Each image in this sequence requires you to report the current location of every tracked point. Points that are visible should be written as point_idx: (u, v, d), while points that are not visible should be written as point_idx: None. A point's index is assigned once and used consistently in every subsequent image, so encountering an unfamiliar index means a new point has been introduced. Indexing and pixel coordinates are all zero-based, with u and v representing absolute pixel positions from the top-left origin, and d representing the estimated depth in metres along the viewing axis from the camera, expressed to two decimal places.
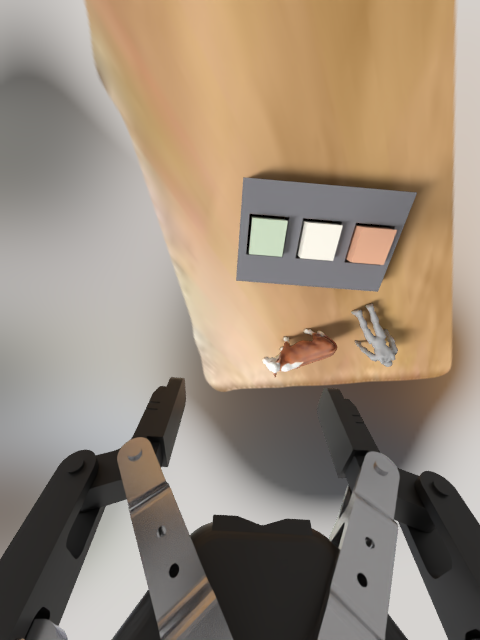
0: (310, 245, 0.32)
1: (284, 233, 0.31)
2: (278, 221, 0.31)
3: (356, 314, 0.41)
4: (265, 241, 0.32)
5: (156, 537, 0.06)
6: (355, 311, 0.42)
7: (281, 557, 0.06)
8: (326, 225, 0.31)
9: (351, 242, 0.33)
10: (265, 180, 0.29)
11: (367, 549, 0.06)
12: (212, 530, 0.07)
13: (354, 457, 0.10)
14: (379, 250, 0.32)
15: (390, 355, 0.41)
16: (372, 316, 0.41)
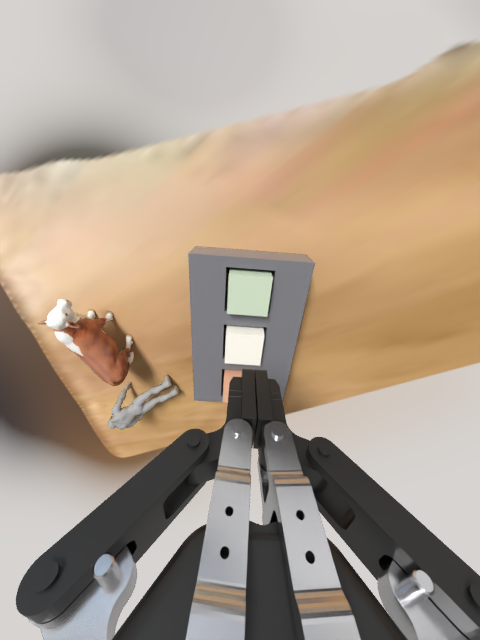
0: (240, 341, 0.29)
1: (253, 314, 0.27)
2: (267, 307, 0.26)
3: (165, 382, 0.37)
4: (245, 293, 0.25)
5: (224, 512, 0.07)
6: (168, 380, 0.38)
7: (281, 557, 0.06)
8: (260, 352, 0.29)
9: None
10: (308, 287, 0.26)
11: (301, 521, 0.07)
12: None
13: (261, 427, 0.11)
14: None
15: (123, 425, 0.37)
16: (165, 396, 0.38)
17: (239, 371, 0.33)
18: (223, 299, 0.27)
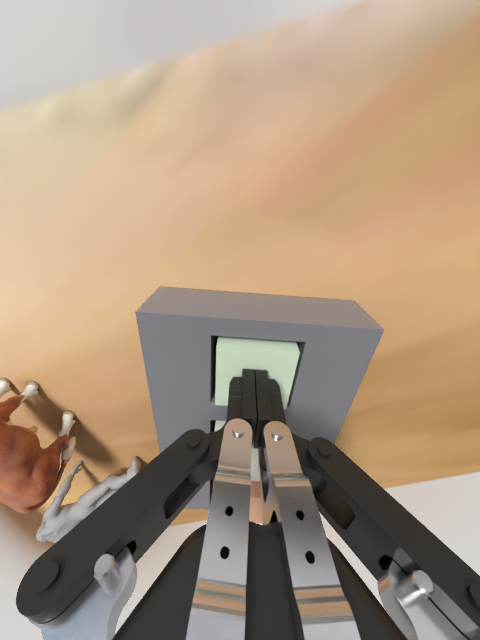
0: None
1: None
2: (286, 396, 0.15)
3: (132, 473, 0.25)
4: None
5: (224, 512, 0.07)
6: (137, 467, 0.25)
7: (281, 557, 0.06)
8: None
9: None
10: (364, 368, 0.14)
11: (301, 521, 0.07)
12: None
13: (261, 427, 0.11)
14: None
15: (61, 537, 0.24)
16: None
17: None
18: (207, 385, 0.15)
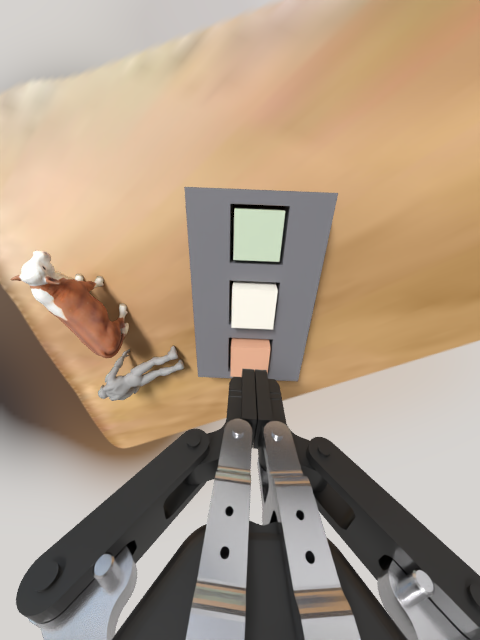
0: (249, 298, 0.24)
1: (263, 259, 0.23)
2: (279, 249, 0.23)
3: (172, 353, 0.33)
4: (254, 232, 0.22)
5: (224, 512, 0.07)
6: (175, 351, 0.33)
7: (281, 557, 0.06)
8: (273, 312, 0.25)
9: (251, 339, 0.29)
10: (329, 227, 0.22)
11: (300, 521, 0.07)
12: None
13: (261, 427, 0.11)
14: None
15: (117, 395, 0.32)
16: (169, 369, 0.33)
17: (248, 340, 0.29)
18: (228, 247, 0.23)
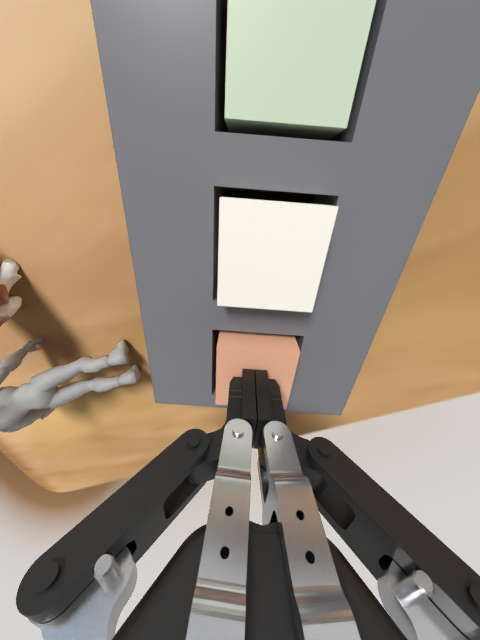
0: (263, 228, 0.10)
1: (306, 118, 0.09)
2: (352, 83, 0.08)
3: (117, 354, 0.18)
4: (287, 15, 0.07)
5: (224, 512, 0.07)
6: (125, 350, 0.18)
7: (281, 557, 0.06)
8: (319, 269, 0.10)
9: None
10: None
11: (301, 521, 0.07)
12: None
13: (261, 427, 0.11)
14: None
15: None
16: (110, 382, 0.18)
17: (253, 333, 0.14)
18: (210, 75, 0.08)
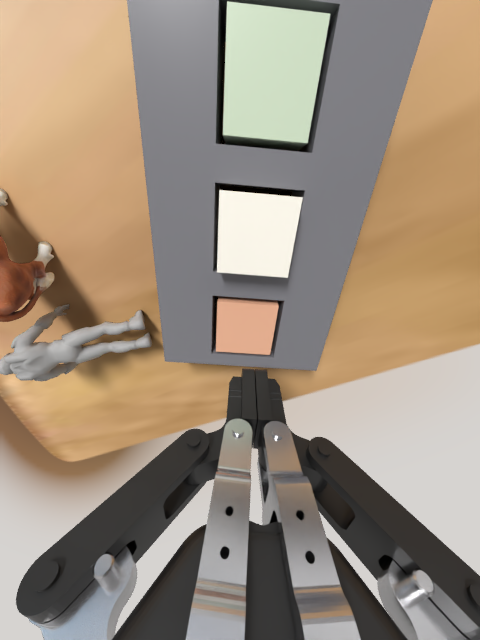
0: (250, 213, 0.13)
1: (279, 136, 0.13)
2: (309, 113, 0.12)
3: (136, 320, 0.21)
4: (264, 70, 0.11)
5: (224, 512, 0.07)
6: (142, 318, 0.22)
7: (281, 557, 0.06)
8: (291, 244, 0.14)
9: None
10: (409, 65, 0.11)
11: (301, 521, 0.07)
12: None
13: (261, 427, 0.11)
14: (239, 339, 0.19)
15: (30, 373, 0.19)
16: (128, 344, 0.22)
17: None
18: (213, 106, 0.12)
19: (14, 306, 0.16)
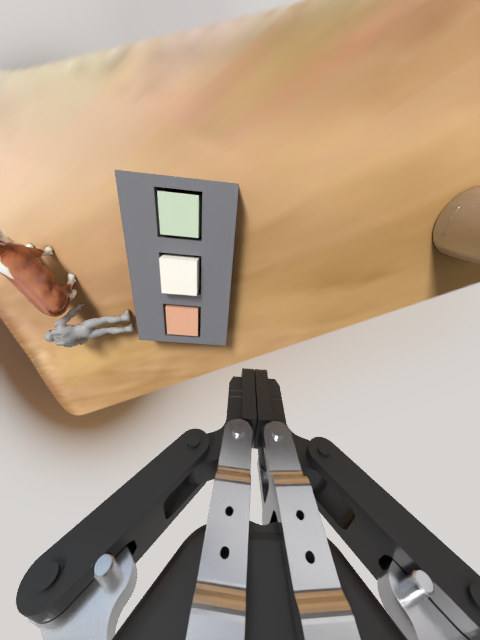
0: (174, 267, 0.29)
1: (185, 235, 0.29)
2: (197, 227, 0.28)
3: (125, 315, 0.37)
4: (175, 212, 0.27)
5: (224, 512, 0.07)
6: (129, 314, 0.37)
7: (281, 557, 0.06)
8: (195, 280, 0.30)
9: None
10: (235, 211, 0.28)
11: (301, 521, 0.07)
12: None
13: (261, 427, 0.11)
14: (179, 327, 0.35)
15: (63, 341, 0.34)
16: (119, 329, 0.37)
17: None
18: (155, 223, 0.28)
19: (60, 308, 0.31)
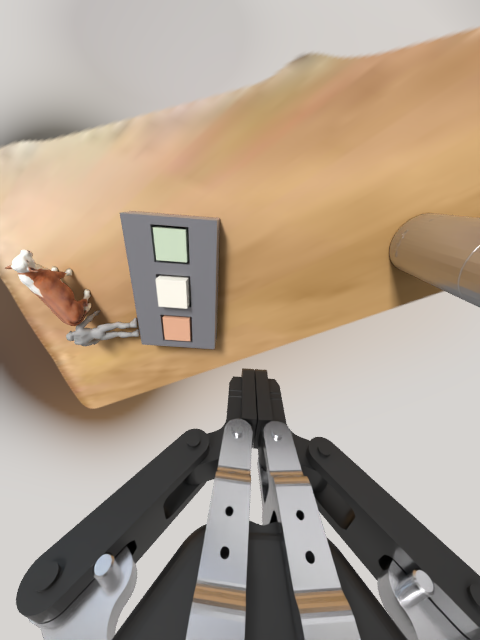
0: (167, 286, 0.36)
1: (176, 260, 0.35)
2: (185, 254, 0.35)
3: (133, 323, 0.44)
4: (167, 243, 0.34)
5: (224, 512, 0.07)
6: (136, 322, 0.45)
7: (281, 557, 0.06)
8: (185, 296, 0.37)
9: None
10: (215, 241, 0.34)
11: (300, 521, 0.07)
12: None
13: (261, 427, 0.11)
14: (174, 334, 0.42)
15: (81, 341, 0.41)
16: (127, 334, 0.44)
17: None
18: (152, 251, 0.35)
19: (78, 319, 0.39)
